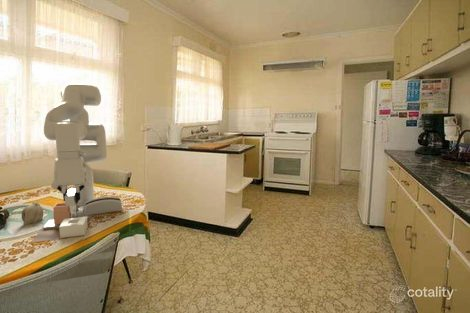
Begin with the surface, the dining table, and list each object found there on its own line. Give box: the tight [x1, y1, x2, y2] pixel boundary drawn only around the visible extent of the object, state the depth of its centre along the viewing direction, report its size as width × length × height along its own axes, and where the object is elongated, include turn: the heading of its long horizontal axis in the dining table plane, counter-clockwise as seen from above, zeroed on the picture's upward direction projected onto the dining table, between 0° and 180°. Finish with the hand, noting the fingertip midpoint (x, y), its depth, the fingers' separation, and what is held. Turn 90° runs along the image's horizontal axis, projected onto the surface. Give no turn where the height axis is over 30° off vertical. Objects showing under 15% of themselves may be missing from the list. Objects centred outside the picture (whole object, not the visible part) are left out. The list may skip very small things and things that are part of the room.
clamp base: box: [42, 203, 90, 230], centre depth 113 cm, size 8×15×10 cm, turn 111°
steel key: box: [64, 188, 77, 217], centre depth 104 cm, size 8×3×10 cm, turn 21°
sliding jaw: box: [52, 202, 73, 225], centre depth 113 cm, size 6×6×7 cm
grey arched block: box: [85, 196, 123, 216], centre depth 128 cm, size 17×5×10 cm, turn 119°
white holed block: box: [59, 217, 89, 238], centre depth 106 cm, size 8×8×4 cm
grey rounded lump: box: [21, 201, 45, 226], centre depth 116 cm, size 9×8×10 cm
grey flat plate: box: [30, 216, 92, 243], centre depth 109 cm, size 20×17×2 cm
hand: (72, 201), depth 104 cm, fingers closed on steel key, 2 cm apart
